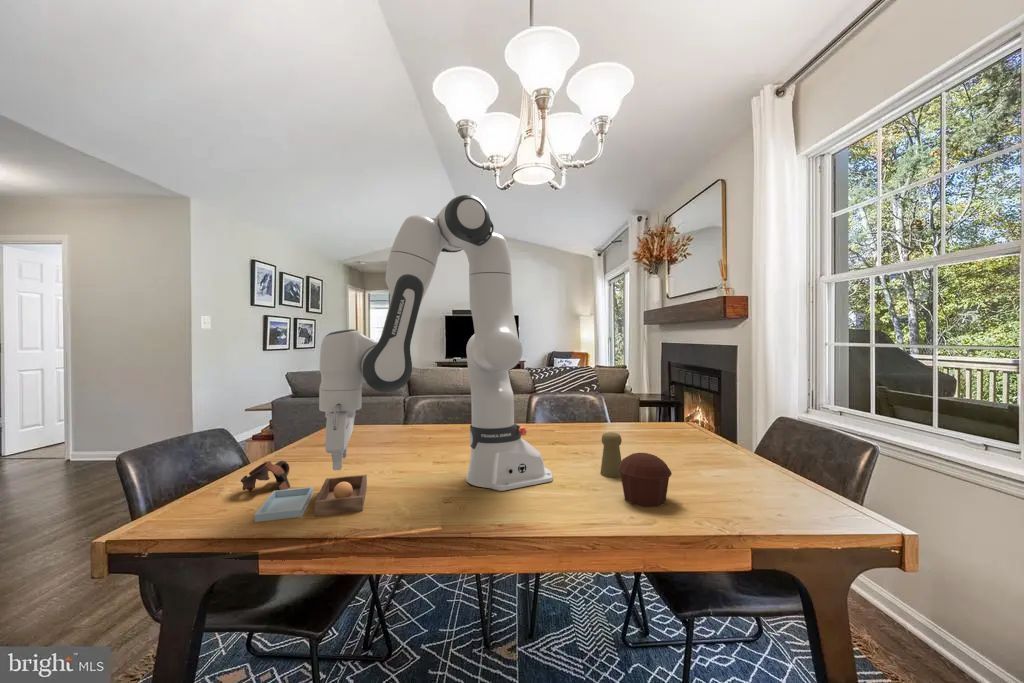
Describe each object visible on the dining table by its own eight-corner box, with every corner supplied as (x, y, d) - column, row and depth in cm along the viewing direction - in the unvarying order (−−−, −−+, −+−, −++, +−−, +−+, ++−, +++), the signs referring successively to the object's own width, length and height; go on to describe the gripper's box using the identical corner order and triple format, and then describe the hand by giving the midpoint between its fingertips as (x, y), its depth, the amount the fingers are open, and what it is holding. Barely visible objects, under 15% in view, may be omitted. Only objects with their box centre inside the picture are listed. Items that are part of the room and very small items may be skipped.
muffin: (682, 501, 93) (682, 456, 93) (652, 514, 86) (652, 465, 86) (637, 486, 102) (636, 445, 102) (607, 497, 96) (606, 453, 96)
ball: (353, 495, 97) (353, 478, 97) (351, 502, 93) (351, 484, 93) (334, 497, 96) (334, 480, 96) (332, 504, 92) (332, 485, 92)
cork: (626, 477, 109) (625, 435, 109) (602, 477, 109) (602, 435, 109) (620, 470, 115) (620, 430, 115) (598, 470, 115) (597, 430, 115)
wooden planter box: (366, 488, 103) (366, 474, 103) (362, 513, 88) (362, 496, 88) (326, 492, 101) (326, 478, 101) (315, 519, 86) (314, 502, 86)
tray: (313, 495, 99) (313, 486, 99) (301, 519, 86) (301, 509, 86) (273, 499, 97) (273, 490, 97) (254, 524, 84) (254, 514, 84)
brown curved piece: (279, 500, 98) (258, 472, 96) (248, 516, 99) (227, 488, 98) (306, 471, 109) (288, 446, 108) (278, 486, 111) (259, 461, 109)
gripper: (351, 407, 85) (350, 476, 85) (359, 395, 105) (358, 451, 105) (317, 409, 84) (316, 478, 84) (331, 396, 103) (331, 452, 103)
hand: (340, 463), depth 94 cm, fingers open, 8 cm apart
